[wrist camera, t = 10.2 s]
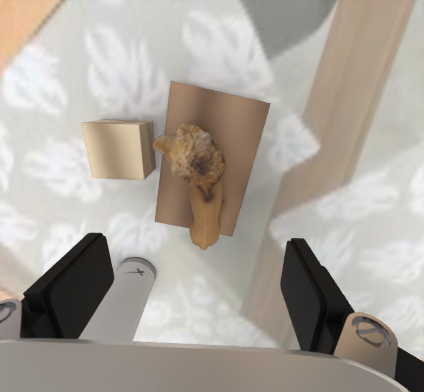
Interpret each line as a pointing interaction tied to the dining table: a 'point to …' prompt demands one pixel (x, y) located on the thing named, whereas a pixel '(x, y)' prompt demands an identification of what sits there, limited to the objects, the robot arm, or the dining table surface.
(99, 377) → the robot arm
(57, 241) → the dining table surface
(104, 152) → the oak block
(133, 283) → the travel mug
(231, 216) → the walnut block
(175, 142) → the lion figurine
